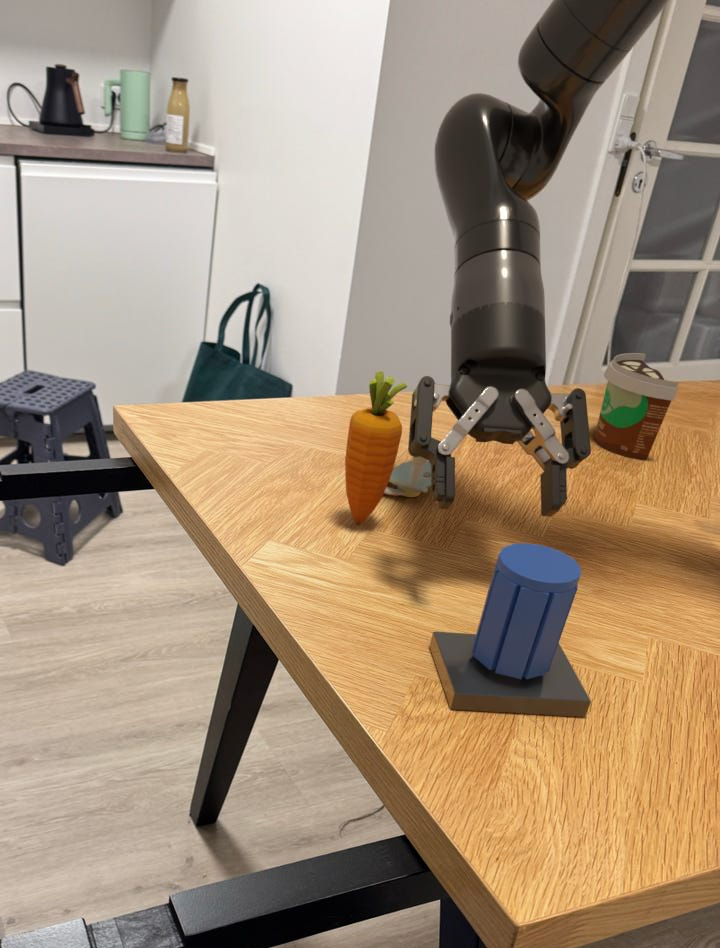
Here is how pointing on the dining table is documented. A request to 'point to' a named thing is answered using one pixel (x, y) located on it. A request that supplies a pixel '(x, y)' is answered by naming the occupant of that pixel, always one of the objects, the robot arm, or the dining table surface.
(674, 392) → the food container
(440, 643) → the peg stand
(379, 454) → the carrot
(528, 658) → the cap
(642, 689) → the dining table surface
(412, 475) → the pacifier
